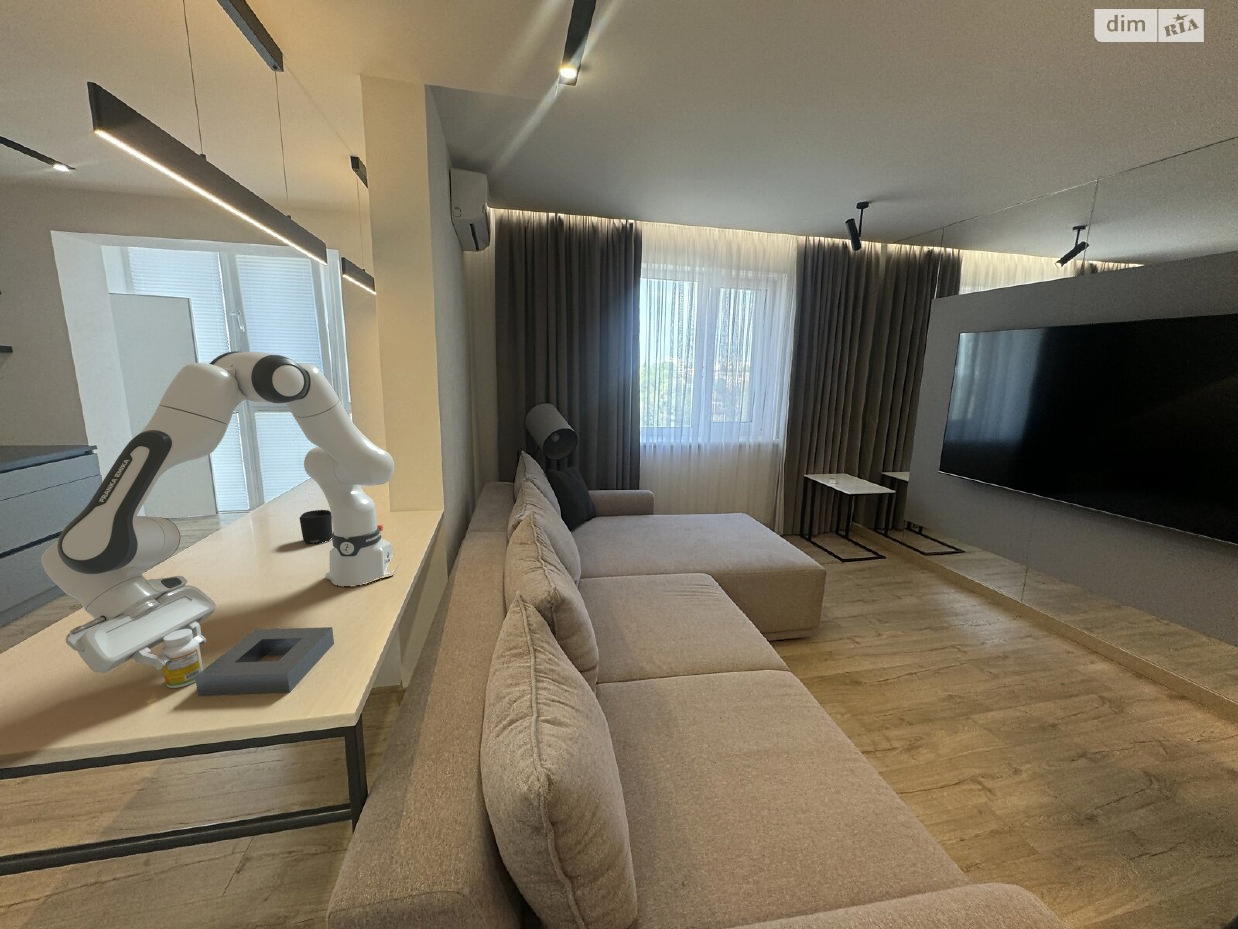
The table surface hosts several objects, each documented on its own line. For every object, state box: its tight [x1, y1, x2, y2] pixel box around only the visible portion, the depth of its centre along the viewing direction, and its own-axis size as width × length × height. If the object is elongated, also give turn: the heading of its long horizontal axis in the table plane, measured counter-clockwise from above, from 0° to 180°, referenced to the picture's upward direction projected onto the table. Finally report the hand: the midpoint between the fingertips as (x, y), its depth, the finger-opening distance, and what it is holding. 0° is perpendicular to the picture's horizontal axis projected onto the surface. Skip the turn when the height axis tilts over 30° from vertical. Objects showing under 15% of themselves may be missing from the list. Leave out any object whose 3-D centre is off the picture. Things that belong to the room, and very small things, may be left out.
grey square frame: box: [195, 626, 335, 697], centre depth 93 cm, size 16×16×4 cm
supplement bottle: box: [160, 629, 205, 689], centre depth 88 cm, size 5×5×10 cm
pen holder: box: [299, 509, 333, 545], centre depth 162 cm, size 9×9×10 cm
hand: (184, 655), depth 88 cm, fingers closed on supplement bottle, 5 cm apart
